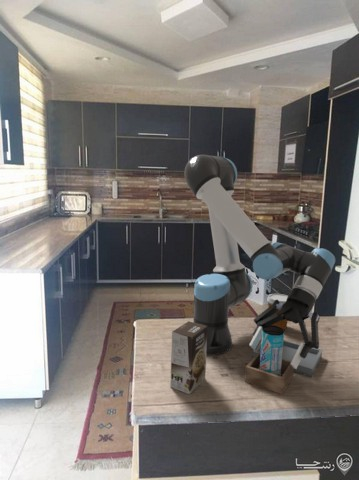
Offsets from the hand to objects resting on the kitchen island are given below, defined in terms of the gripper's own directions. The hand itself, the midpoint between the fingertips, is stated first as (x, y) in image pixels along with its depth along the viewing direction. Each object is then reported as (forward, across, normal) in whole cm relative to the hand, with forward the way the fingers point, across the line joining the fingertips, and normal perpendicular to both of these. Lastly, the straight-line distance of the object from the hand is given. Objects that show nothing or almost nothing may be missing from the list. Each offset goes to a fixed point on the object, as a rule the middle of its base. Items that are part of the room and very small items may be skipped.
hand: (271, 356), depth 98 cm
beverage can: (+5, +1, -6) cm, 8 cm away
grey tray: (-6, +4, -16) cm, 18 cm away
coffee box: (+18, +14, +8) cm, 24 cm away
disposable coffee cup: (-18, +20, -29) cm, 40 cm away
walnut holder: (+5, +1, -6) cm, 7 cm away
